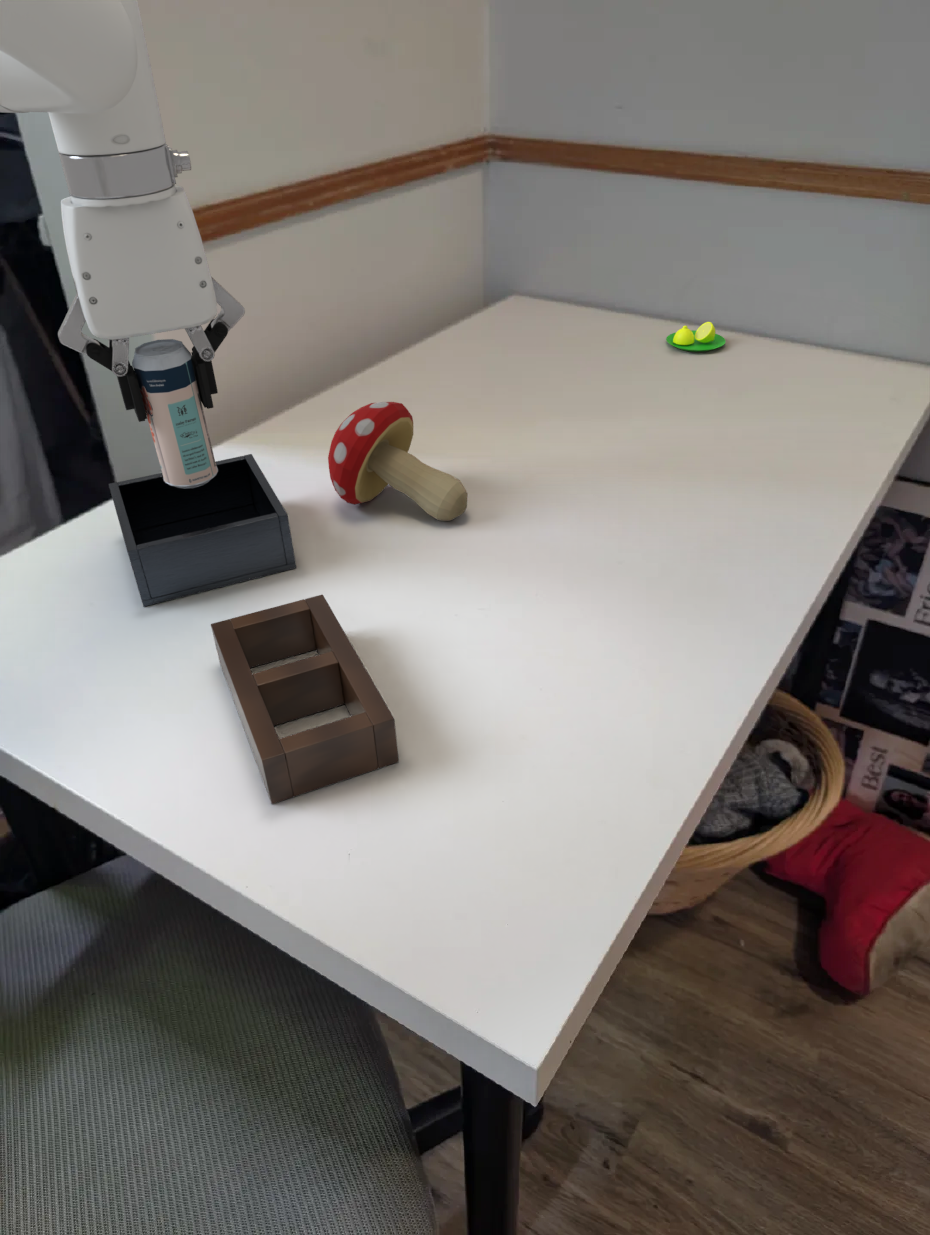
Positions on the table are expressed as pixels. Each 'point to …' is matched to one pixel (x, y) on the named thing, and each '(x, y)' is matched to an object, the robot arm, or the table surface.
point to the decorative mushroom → (389, 462)
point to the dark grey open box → (202, 531)
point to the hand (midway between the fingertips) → (173, 407)
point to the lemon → (696, 338)
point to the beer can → (175, 413)
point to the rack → (303, 697)
